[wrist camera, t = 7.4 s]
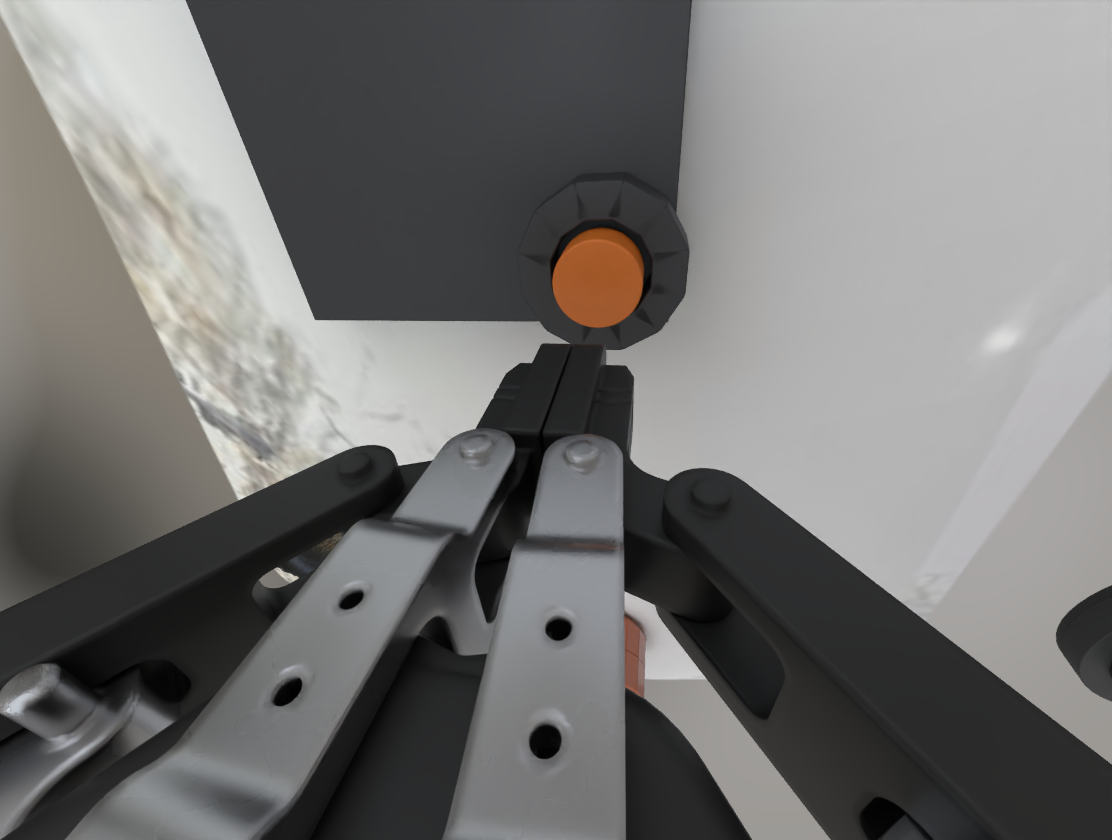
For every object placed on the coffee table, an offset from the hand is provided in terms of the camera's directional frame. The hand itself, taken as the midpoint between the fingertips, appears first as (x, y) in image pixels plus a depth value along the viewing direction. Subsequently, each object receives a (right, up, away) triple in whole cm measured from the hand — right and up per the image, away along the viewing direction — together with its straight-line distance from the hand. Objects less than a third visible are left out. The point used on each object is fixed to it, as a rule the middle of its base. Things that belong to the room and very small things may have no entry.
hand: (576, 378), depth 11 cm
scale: (-4, +10, +6) cm, 12 cm away
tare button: (+1, +4, +5) cm, 7 cm away
